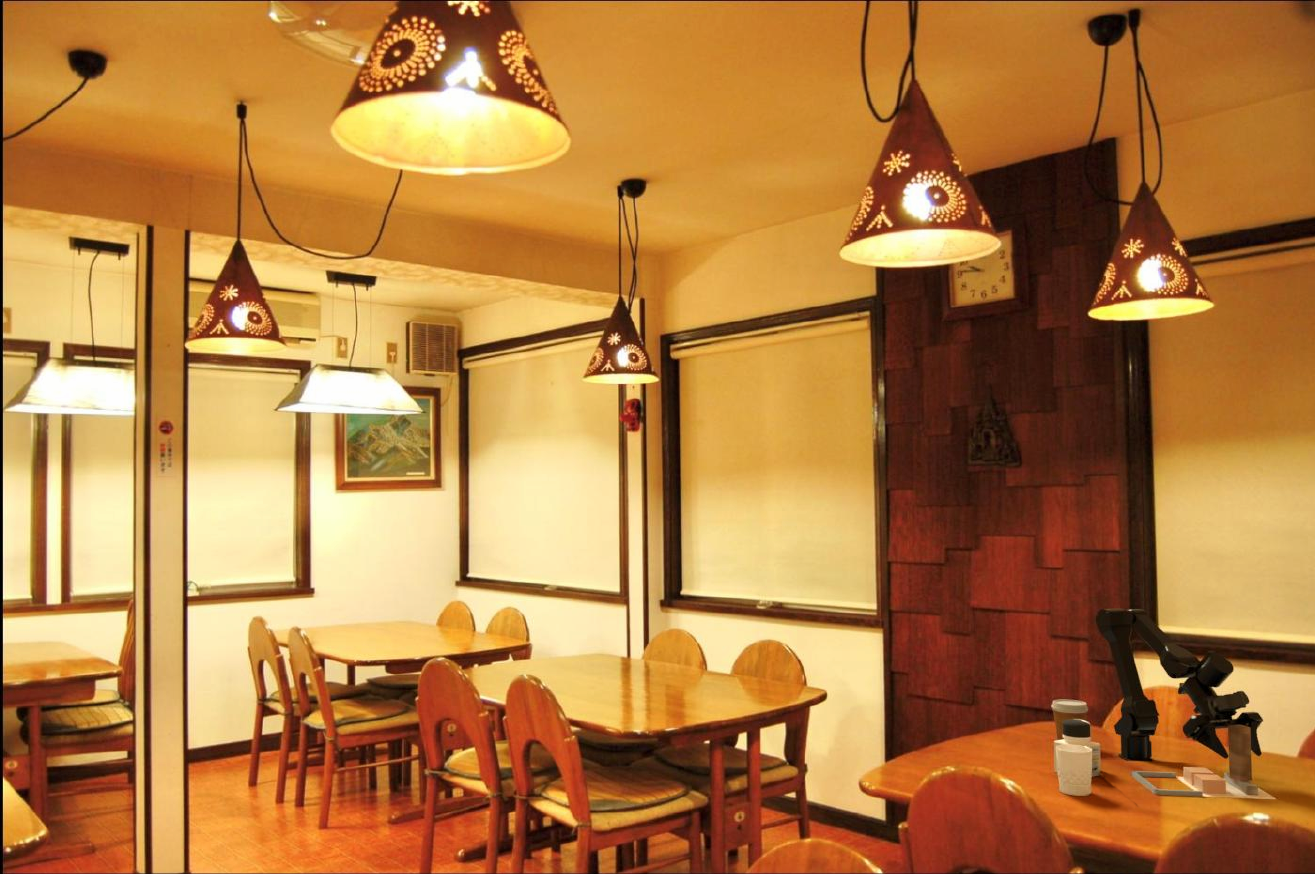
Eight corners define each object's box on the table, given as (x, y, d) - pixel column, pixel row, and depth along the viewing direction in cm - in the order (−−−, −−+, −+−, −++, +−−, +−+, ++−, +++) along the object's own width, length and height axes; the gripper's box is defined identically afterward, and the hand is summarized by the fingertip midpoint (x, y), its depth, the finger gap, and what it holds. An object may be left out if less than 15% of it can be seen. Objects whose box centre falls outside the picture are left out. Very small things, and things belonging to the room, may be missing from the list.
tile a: (1217, 787, 239) (1216, 774, 239) (1226, 793, 234) (1225, 780, 234) (1194, 787, 240) (1193, 773, 240) (1202, 793, 235) (1202, 779, 235)
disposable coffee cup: (1073, 752, 278) (1072, 706, 279) (1044, 744, 286) (1043, 700, 287) (1096, 748, 283) (1095, 703, 284) (1067, 741, 291) (1066, 697, 292)
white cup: (1050, 787, 243) (1049, 744, 244) (1082, 787, 244) (1082, 743, 245) (1066, 797, 236) (1065, 752, 236) (1100, 796, 236) (1098, 751, 237)
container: (1079, 779, 251) (1078, 724, 252) (1053, 771, 258) (1052, 718, 259) (1101, 775, 255) (1100, 721, 255) (1075, 768, 261) (1074, 715, 262)
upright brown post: (1239, 781, 245) (1237, 721, 246) (1262, 795, 233) (1260, 732, 234) (1220, 780, 246) (1218, 720, 246) (1242, 794, 234) (1240, 731, 235)
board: (1243, 783, 247) (1243, 778, 247) (1276, 804, 230) (1276, 798, 230) (1174, 781, 249) (1174, 776, 249) (1202, 801, 232) (1202, 796, 232)
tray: (1174, 781, 249) (1174, 772, 249) (1202, 801, 232) (1202, 791, 232) (1131, 779, 250) (1131, 770, 251) (1155, 799, 234) (1155, 789, 234)
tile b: (1205, 780, 246) (1205, 767, 246) (1214, 786, 241) (1214, 772, 241) (1183, 779, 246) (1183, 766, 247) (1191, 785, 241) (1191, 772, 242)
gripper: (1189, 680, 243) (1228, 738, 231) (1255, 677, 247) (1296, 734, 236) (1166, 708, 250) (1203, 766, 238) (1230, 704, 255) (1269, 761, 243)
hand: (1243, 756), depth 239 cm, fingers open, 9 cm apart
